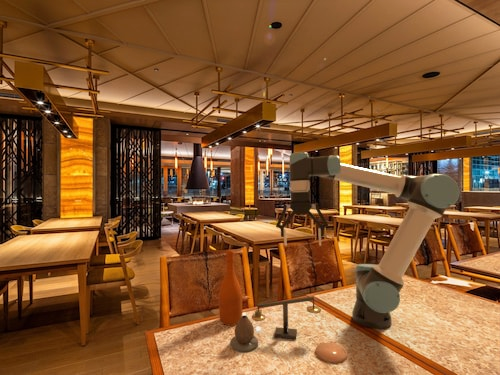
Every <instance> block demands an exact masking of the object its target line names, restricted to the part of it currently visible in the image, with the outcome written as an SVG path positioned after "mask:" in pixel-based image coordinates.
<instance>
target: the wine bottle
mask: <svg viewBox="0 0 500 375" xmlns="http://www.w3.org/2000/svg"><path fill="white" fill-rule="evenodd" d="M225 254H226V258H225V260H226V270H225V273H224V277H223V280H222V282H221V286H220V289H219V295H218V309H219V321H220V323H222V324H224V325H226V326H233V325H235V326H236V324H237V322H238V321H239V320H240V318H241V316H243V292H242V291H243V290H242V287H241V285H240V283H239V280H238V277H237V276H236V272H235V267H234V260H235V256H234V255H235V251H234V250H232V249H227V250H226V251H225Z"/></svg>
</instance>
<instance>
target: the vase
mask: <svg viewBox="0 0 500 375" xmlns="http://www.w3.org/2000/svg"><path fill="white" fill-rule="evenodd" d="M254 335H255V328H254V326H253V323H252V322H251V320H250V319H249V318H248V316H247V315H245V314H244V315H242V316H241V318H240V320H239V321H238V322H237V324H235V327H234V337H236V339H237V341H238V342H239V343H241V344H248V343H249V342H250V341H251V340H252V339H253V336H254Z"/></svg>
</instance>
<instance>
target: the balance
mask: <svg viewBox="0 0 500 375" xmlns="http://www.w3.org/2000/svg"><path fill="white" fill-rule="evenodd" d="M311 301H312V305H309V306H307V307H306V312H308V313H310V314H319V313H321V312H322V308H321V307H319V306H316V305H315V296H306V297H298V298H293V299H286V300H285V299H284V300H279V301H278V300H277V301H271V302H265V303H258V304H256V306H257V309H255V310H254V311H255V312H254V314H252V315H251V319H252V321H256V322H261V321H264V320H265V319H266V315H265V314H263V310H262V309H260V308H269V307H275V306H282V323H283V324H282V326H283V327H277V326H276V328H275V330H274V333H273V334H274V338H275V339H283V340H293V341H294V340H295V341H296V340H297V335H298V329H296V328H289V306H288V305H289V304H297V303H306V302H311Z"/></svg>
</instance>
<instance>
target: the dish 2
mask: <svg viewBox="0 0 500 375" xmlns="http://www.w3.org/2000/svg"><path fill="white" fill-rule="evenodd" d="M315 354H316V356H317V357H318V359H320V360H322V361H324V362H327V363H332V364H340V363H343V362H345V361H346V360H347V358H348V352H347V350H346V349H345V348H344V347H343V346H341V345H339V344H337V343H334V342H333V343H332V342H322V343H319V344H317V345H316V347H315Z"/></svg>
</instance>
